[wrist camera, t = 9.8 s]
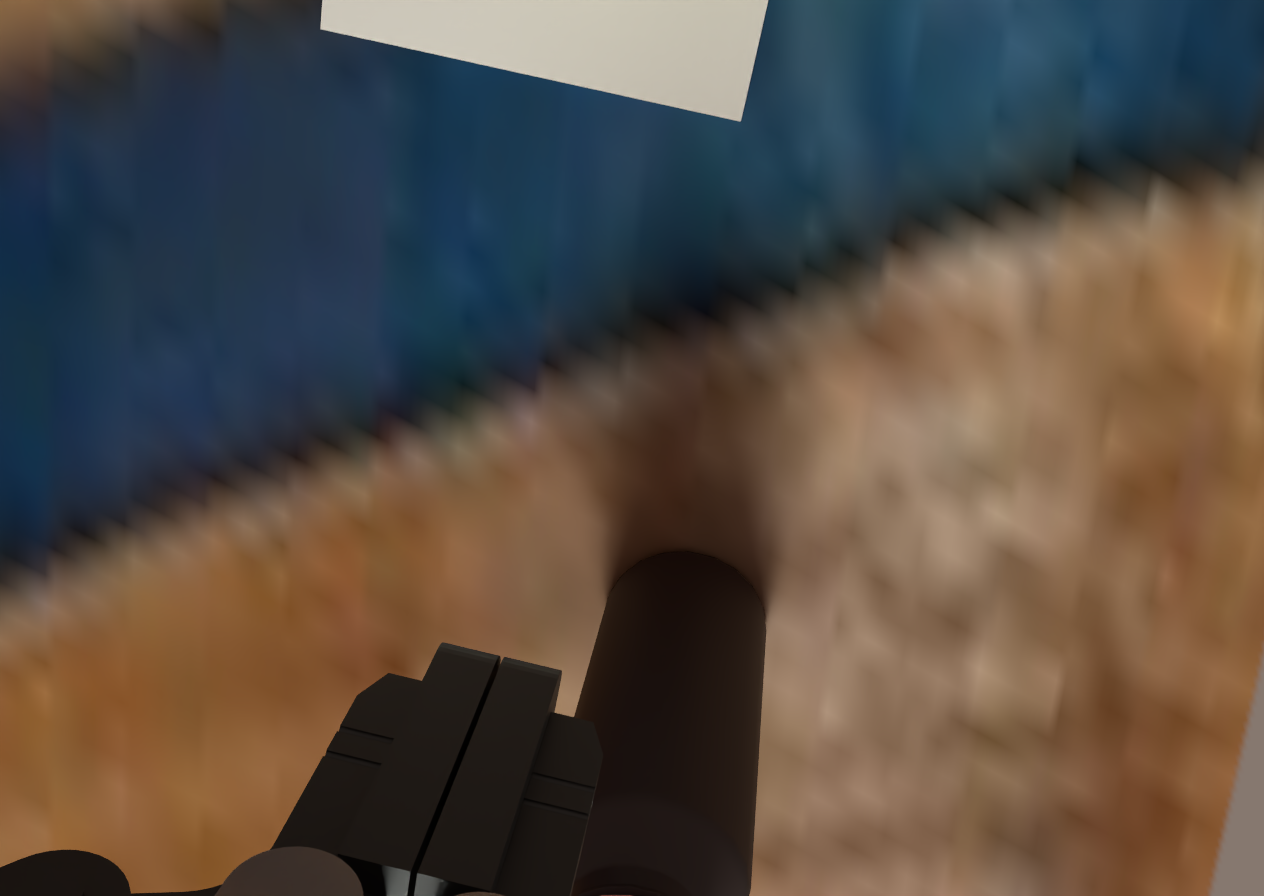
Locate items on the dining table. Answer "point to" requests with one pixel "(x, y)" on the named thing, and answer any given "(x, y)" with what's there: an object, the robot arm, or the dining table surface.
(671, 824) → the vinegar
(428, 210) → the dining table surface
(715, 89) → the mat
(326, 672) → the dining table surface
